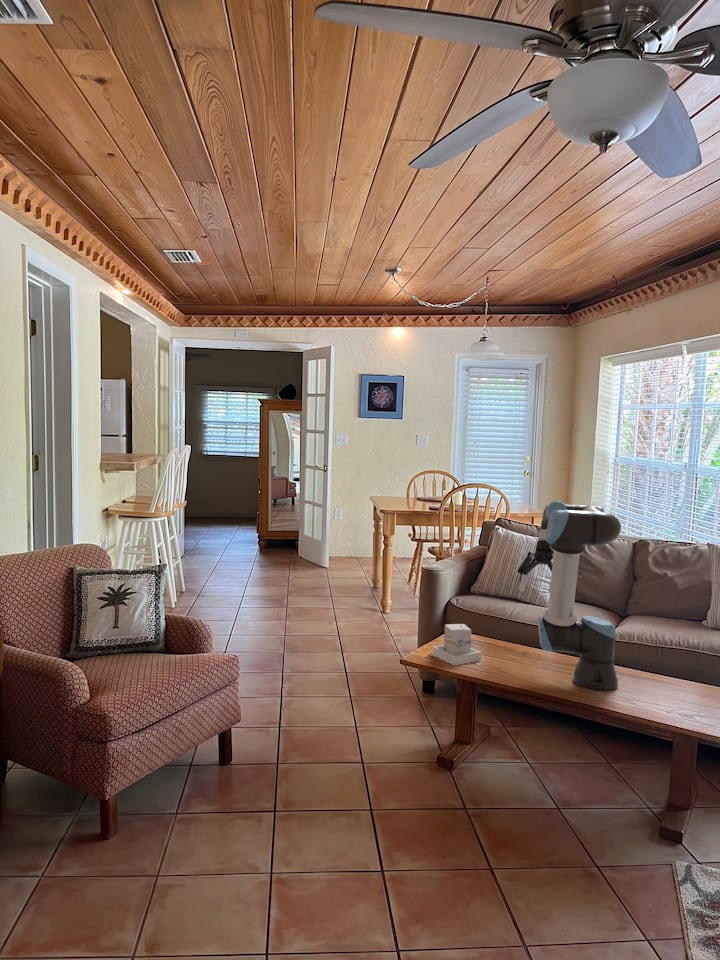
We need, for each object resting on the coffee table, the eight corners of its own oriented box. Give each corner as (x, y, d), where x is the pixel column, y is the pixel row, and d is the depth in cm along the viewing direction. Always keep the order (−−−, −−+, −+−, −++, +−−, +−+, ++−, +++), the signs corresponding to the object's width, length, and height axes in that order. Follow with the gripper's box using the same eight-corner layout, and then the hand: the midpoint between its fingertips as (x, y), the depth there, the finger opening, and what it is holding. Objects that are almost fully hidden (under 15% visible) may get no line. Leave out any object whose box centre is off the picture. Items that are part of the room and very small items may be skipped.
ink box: (442, 652, 263) (444, 623, 262) (463, 652, 264) (464, 623, 264) (449, 659, 254) (451, 629, 254) (470, 658, 256) (472, 629, 255)
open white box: (480, 660, 257) (481, 652, 257) (453, 665, 250) (454, 656, 250) (458, 651, 268) (459, 642, 268) (432, 655, 261) (432, 646, 261)
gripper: (578, 546, 262) (568, 598, 256) (525, 544, 281) (514, 592, 274) (569, 540, 257) (558, 592, 251) (516, 538, 276) (504, 586, 270)
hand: (535, 592), depth 263 cm, fingers open, 13 cm apart
